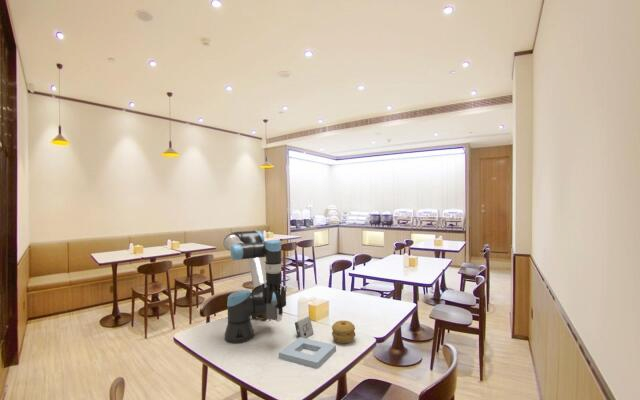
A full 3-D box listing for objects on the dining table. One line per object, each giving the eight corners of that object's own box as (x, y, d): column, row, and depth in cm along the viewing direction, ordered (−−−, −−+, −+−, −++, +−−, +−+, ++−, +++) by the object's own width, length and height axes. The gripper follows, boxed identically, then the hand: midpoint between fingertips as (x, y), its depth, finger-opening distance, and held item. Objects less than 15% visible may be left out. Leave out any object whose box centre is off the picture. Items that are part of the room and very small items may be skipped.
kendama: (277, 313, 198) (261, 324, 179) (264, 312, 201) (247, 322, 183) (277, 304, 198) (261, 313, 180) (264, 303, 202) (247, 312, 183)
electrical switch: (302, 340, 156) (300, 321, 157) (294, 339, 160) (293, 320, 160) (314, 334, 164) (312, 316, 164) (306, 332, 167) (305, 315, 168)
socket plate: (278, 358, 139) (278, 352, 139) (300, 342, 154) (300, 337, 154) (317, 368, 129) (317, 362, 129) (336, 350, 145) (335, 345, 145)
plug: (266, 321, 149) (266, 303, 149) (274, 317, 154) (273, 300, 154) (275, 323, 146) (274, 305, 146) (282, 319, 151) (282, 301, 151)
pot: (339, 348, 147) (338, 327, 147) (328, 338, 158) (327, 319, 158) (359, 343, 152) (359, 322, 152) (347, 334, 163) (347, 315, 163)
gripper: (254, 271, 151) (255, 319, 151) (284, 275, 142) (285, 325, 142) (264, 268, 158) (264, 314, 158) (293, 272, 149) (294, 320, 149)
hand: (274, 319), depth 150 cm, fingers closed on plug, 5 cm apart
